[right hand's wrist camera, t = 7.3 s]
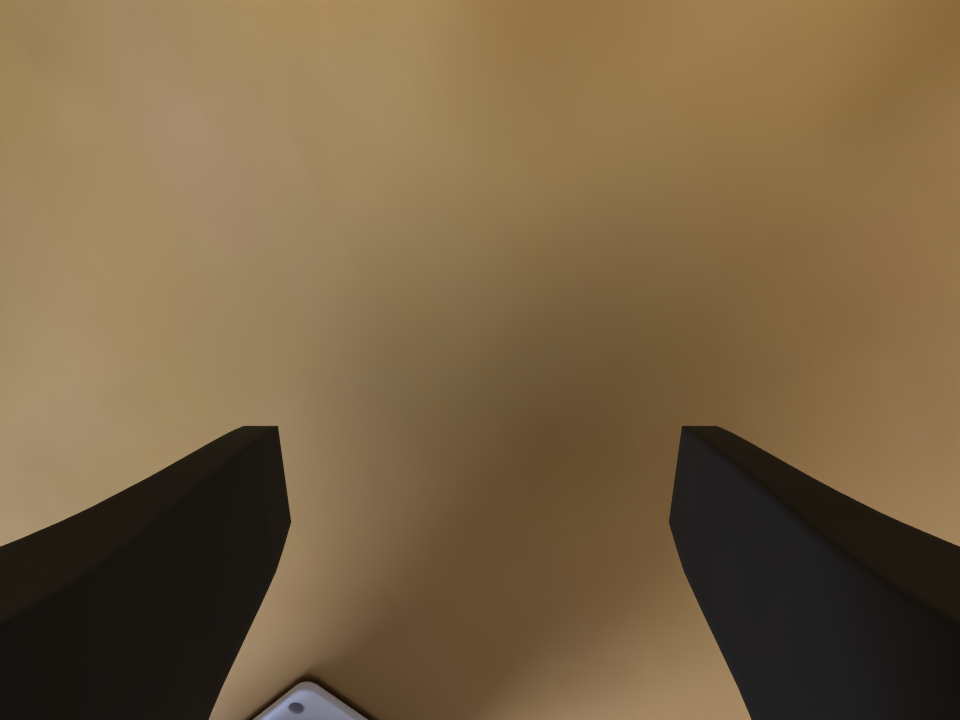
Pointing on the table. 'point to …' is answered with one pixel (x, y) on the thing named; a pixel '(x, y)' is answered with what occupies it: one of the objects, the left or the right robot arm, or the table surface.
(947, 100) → the table surface
